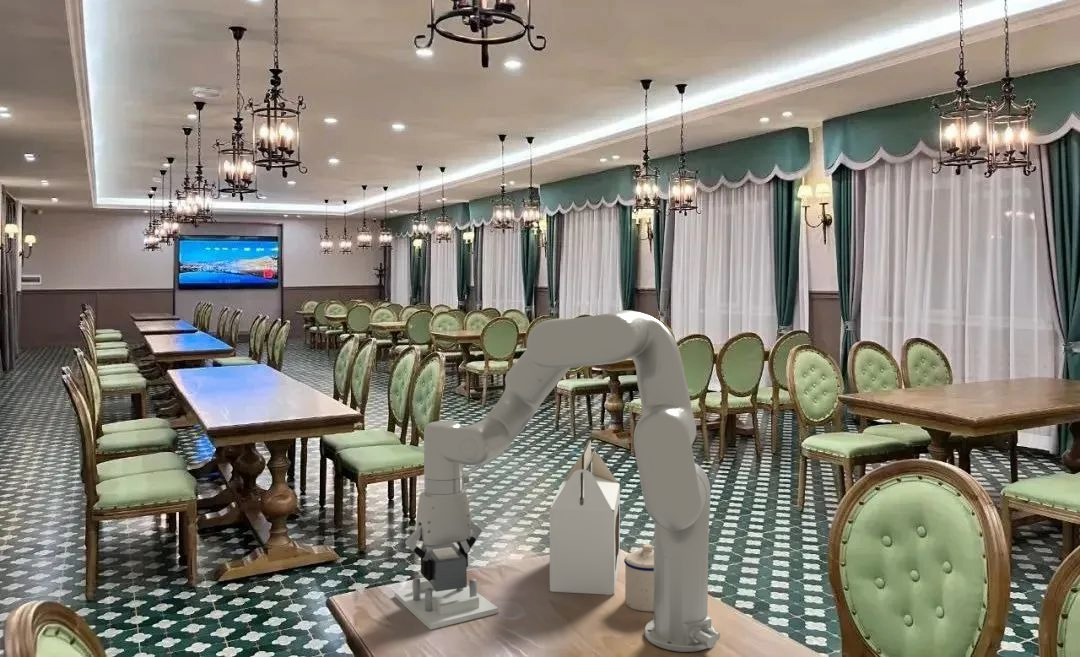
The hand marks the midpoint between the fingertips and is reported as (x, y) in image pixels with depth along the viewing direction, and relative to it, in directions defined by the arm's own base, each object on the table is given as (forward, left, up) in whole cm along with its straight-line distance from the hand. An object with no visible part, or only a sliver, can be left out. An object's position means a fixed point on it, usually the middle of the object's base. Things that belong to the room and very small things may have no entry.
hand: (444, 574), depth 157 cm
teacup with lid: (-19, -35, -6) cm, 40 cm away
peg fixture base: (0, 0, -6) cm, 6 cm away
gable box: (-1, -33, -6) cm, 34 cm away
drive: (0, 0, -1) cm, 1 cm away
